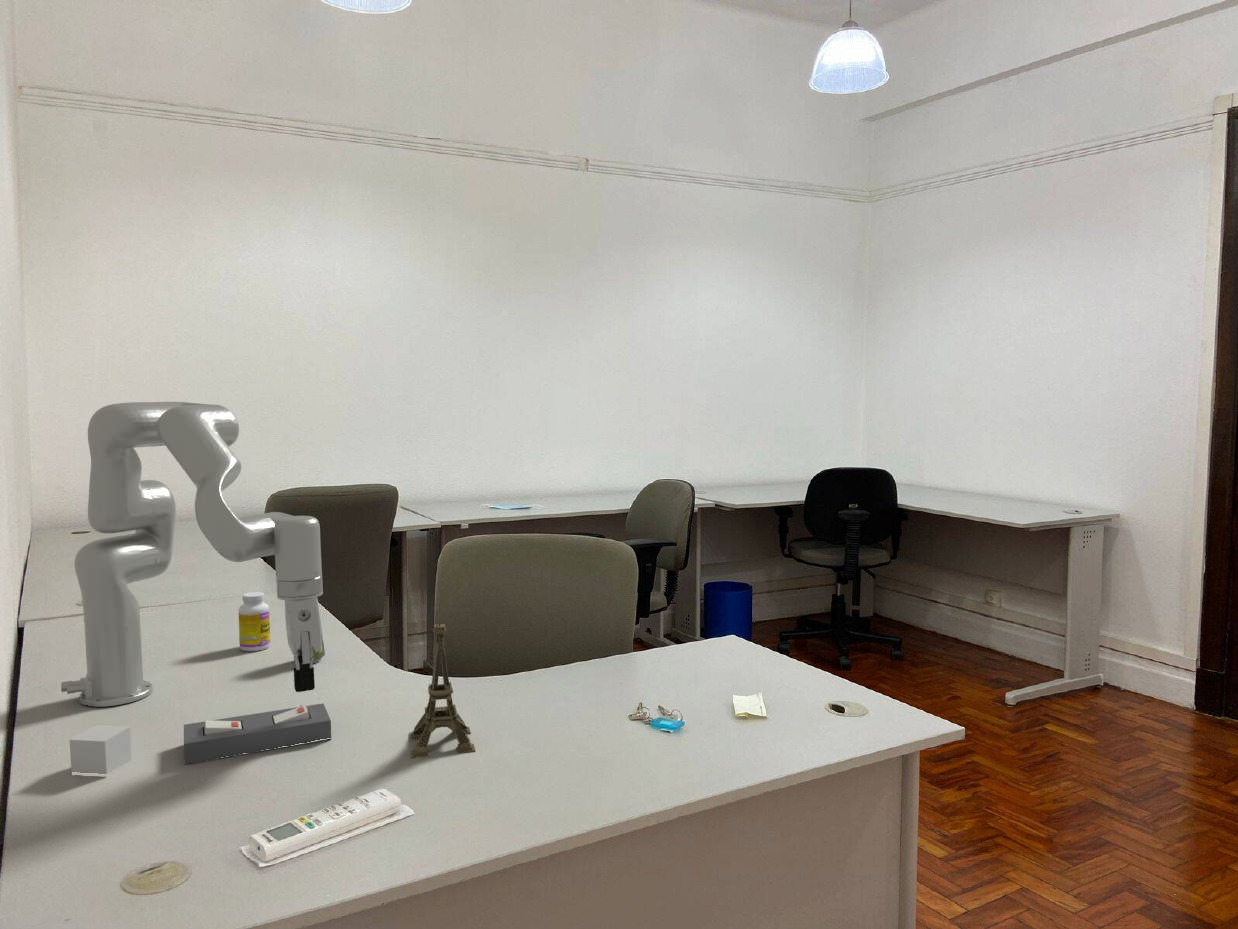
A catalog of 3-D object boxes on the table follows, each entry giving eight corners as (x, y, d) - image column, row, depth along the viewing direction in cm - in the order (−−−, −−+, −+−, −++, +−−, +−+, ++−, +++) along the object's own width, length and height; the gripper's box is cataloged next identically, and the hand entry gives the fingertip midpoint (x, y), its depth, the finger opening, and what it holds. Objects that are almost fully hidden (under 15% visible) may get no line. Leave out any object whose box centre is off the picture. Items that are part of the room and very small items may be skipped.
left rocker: (204, 734, 147) (206, 726, 147) (204, 727, 150) (205, 719, 150) (240, 735, 150) (242, 728, 150) (239, 728, 153) (240, 720, 153)
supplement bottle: (263, 652, 203) (261, 597, 201) (234, 652, 203) (232, 597, 201) (275, 643, 209) (273, 590, 208) (247, 643, 209) (245, 590, 208)
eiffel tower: (411, 759, 146) (408, 611, 144) (409, 734, 156) (406, 596, 154) (475, 752, 149) (473, 607, 147) (469, 728, 159) (467, 592, 157)
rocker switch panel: (184, 764, 144) (183, 744, 143) (184, 728, 158) (183, 710, 158) (331, 739, 154) (330, 720, 153) (318, 708, 168) (317, 690, 168)
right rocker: (276, 729, 152) (274, 722, 152) (274, 722, 155) (272, 715, 155) (309, 718, 154) (307, 711, 154) (307, 711, 158) (305, 704, 157)
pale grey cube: (97, 760, 146) (95, 725, 145) (131, 762, 145) (129, 726, 144) (71, 776, 140) (69, 739, 139) (106, 778, 139) (105, 741, 138)
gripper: (328, 593, 148) (333, 699, 150) (316, 576, 162) (320, 674, 163) (281, 598, 145) (286, 707, 147) (272, 581, 158) (277, 680, 160)
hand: (304, 689), depth 155 cm, fingers closed
